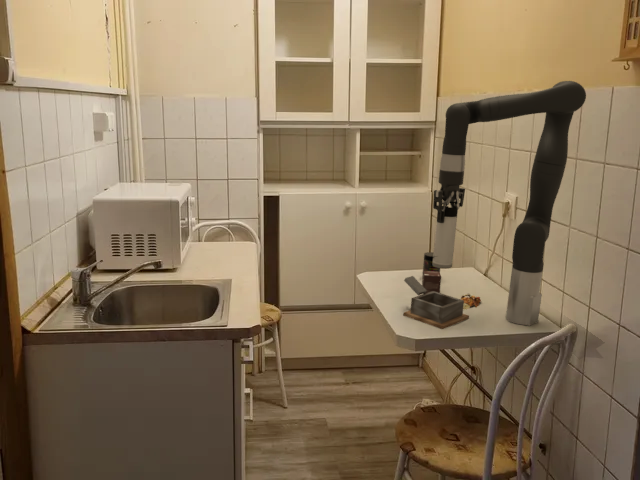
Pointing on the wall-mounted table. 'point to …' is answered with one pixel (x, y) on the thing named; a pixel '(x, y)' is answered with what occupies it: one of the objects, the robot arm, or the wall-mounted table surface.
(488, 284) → the wall-mounted table surface
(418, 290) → the grey rectangular block
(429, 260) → the supplement container
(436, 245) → the travel mug
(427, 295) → the grey walled square tray
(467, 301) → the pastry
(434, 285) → the box
